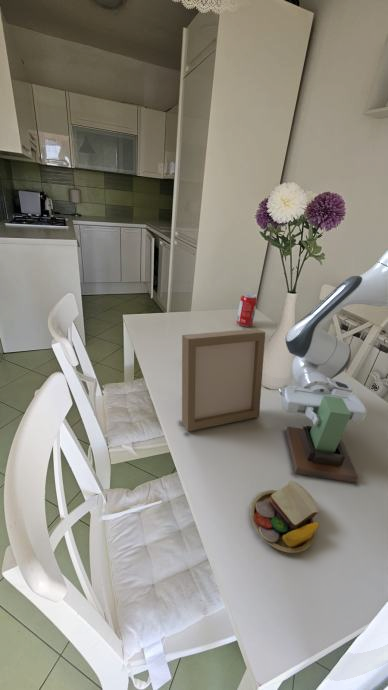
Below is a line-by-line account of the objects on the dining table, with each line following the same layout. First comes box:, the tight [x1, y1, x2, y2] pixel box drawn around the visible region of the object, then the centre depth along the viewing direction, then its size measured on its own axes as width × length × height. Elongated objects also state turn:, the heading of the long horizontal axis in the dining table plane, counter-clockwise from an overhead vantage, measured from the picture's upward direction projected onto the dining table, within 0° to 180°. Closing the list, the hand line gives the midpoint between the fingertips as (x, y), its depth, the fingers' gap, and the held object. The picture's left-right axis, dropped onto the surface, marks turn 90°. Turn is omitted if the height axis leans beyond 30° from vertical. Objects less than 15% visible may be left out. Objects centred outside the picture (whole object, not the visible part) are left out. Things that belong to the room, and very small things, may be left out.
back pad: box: [310, 396, 351, 453], centre depth 73 cm, size 4×6×12 cm
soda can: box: [236, 292, 258, 328], centre depth 145 cm, size 8×8×15 cm
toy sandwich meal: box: [249, 480, 320, 554], centre depth 59 cm, size 12×14×5 cm
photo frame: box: [181, 328, 266, 432], centre depth 83 cm, size 15×22×25 cm
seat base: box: [285, 425, 359, 484], centre depth 76 cm, size 14×14×5 cm
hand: (330, 425), depth 72 cm, fingers closed on back pad, 4 cm apart
